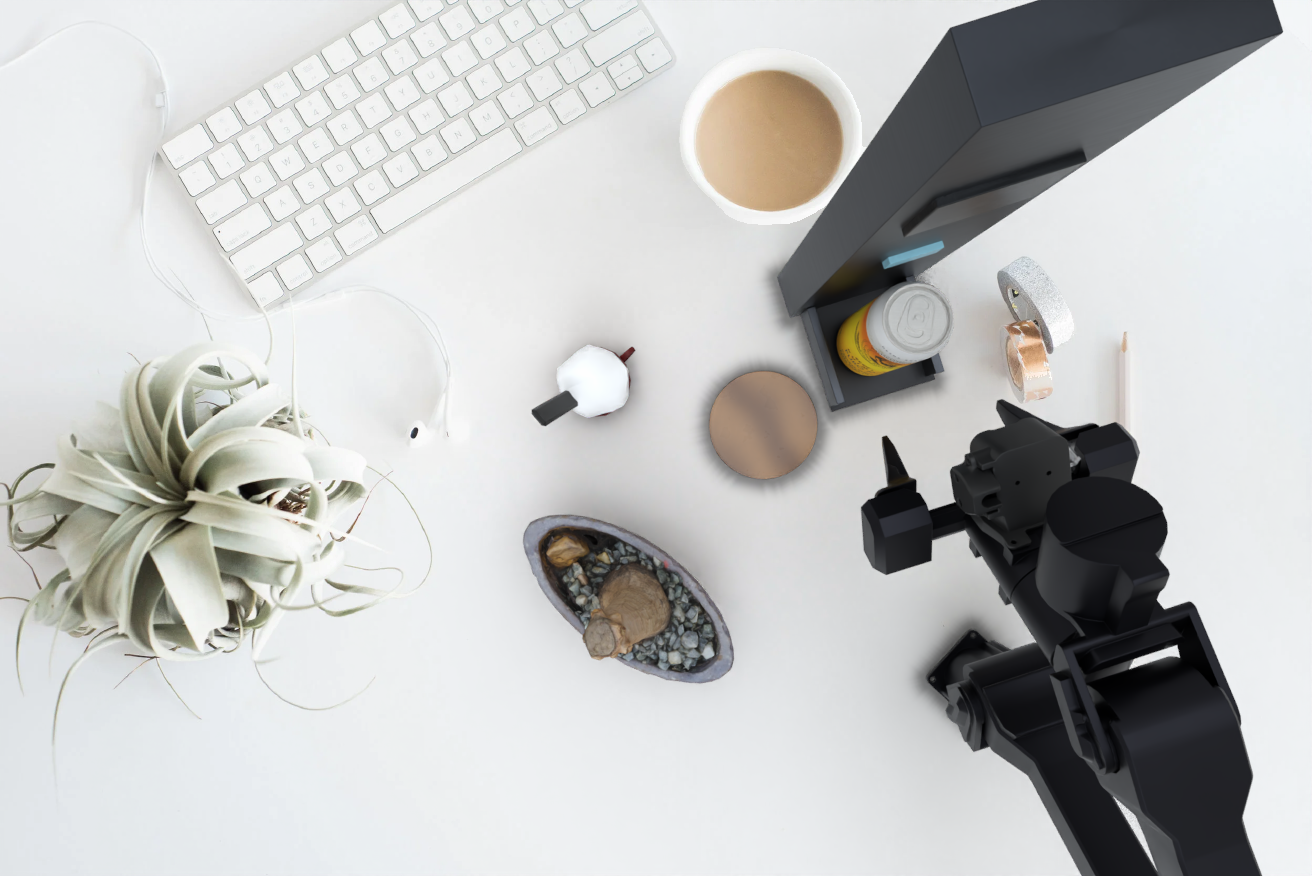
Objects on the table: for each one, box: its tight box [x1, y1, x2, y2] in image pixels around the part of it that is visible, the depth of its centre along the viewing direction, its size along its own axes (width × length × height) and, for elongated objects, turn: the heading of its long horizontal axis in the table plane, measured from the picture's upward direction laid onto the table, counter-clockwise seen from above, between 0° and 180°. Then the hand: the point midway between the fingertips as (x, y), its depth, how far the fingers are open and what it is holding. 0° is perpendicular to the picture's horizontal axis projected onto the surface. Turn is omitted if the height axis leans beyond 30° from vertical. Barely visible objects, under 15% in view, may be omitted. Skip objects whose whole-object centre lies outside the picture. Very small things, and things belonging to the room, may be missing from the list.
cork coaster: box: [708, 370, 818, 480], centre depth 77 cm, size 10×10×1 cm
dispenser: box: [776, 0, 1284, 413], centre depth 54 cm, size 14×12×46 cm
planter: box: [522, 514, 735, 684], centre depth 67 cm, size 15×17×20 cm
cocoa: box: [531, 344, 637, 427], centre depth 71 cm, size 10×6×12 cm, turn 109°
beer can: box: [837, 280, 955, 376], centre depth 69 cm, size 6×6×15 cm
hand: (941, 421), depth 64 cm, fingers open, 9 cm apart
